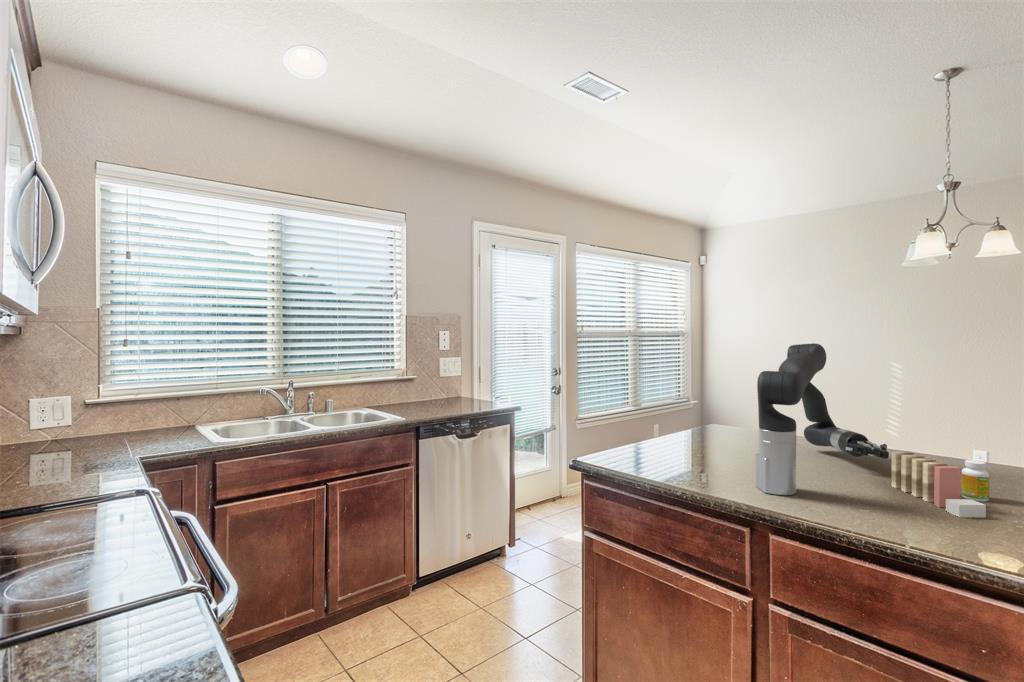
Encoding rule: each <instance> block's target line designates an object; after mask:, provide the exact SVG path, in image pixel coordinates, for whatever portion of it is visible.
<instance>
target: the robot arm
mask: <svg viewBox="0 0 1024 682" xmlns="http://www.w3.org/2000/svg"><path fill="white" fill-rule="evenodd" d="M786 353H787V354H786V357H787V358H785V360H783V362H782V363H780V365H779V367H778V371H777V370H776V371H775V370H764V371H761V372H760V373H759V375H758V377H757V386H756V387H757V388H756V389H757V403H758V406H757V407H758V408H757V409H758V452H757V453H756V454H755V488H757V489H759V490H760V491H762V492H763V493H764V494H771V495H777V496H791V495H795V494H797V421H796V420H795V419H794V418H792V417H790V416H787V415H785V414H784V413H782V412H780V411H778V410H777V409H775V407H774V405H776V406H777V405H778V406H779V405H780V406H795V405H798V404H799V402H800V401H802V405H803V410H804V414H805V417H806V420H808V421H809V422H811V423H813V424H810V425H808V426H806V427H805V428H804V430H803V436H804V439H805V440H806V441H807V442H808V443H809V444H811V445H814V446H818V447H831V448H833V449H836V450H838V451H839V452H841V453H844V454H847V455H850V456H852V457H855V458H856V457H857V458H859V457H862V456H865V457H867V456H871V457H876V458H879V459H882V460H883V459H884V460H885V459H889V458H890V455H889V454H890V453H889V451H888V444H886V443H882V444H879V445H877V444H876V443H874V442H872V441H871V440H869V439H868V438H867V436H865V435H864V434H862V433H859V432H855V431H852V430H850V429H845V428H840V427H838V426H836V424H835V423H834V421H833V420H832V417H830V414H829V411H828V407H827V406H828V405H827V401H826V398H825V395H823V393H822V392H821V390H819V388H818V387H816V386H815V385H814V384H813V383H812V382H811V381H812V379H813V378H814V377H815V375H816V374H818V373H819V372H820V371H822V370H823V369H824V367H825V365H826V363H827V352H826V349H825V348H824V347H823V346H822V344H820V343H814V342H813V343H801V344H791V345H790V346H789V347H788V348H787V352H786Z"/></svg>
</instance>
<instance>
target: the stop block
mask: <svg viewBox="0 0 1024 682" xmlns="http://www.w3.org/2000/svg"><path fill="white" fill-rule="evenodd" d="M946 511H947V513H948V512H949V513H948V514H951V515H953V516H955V515H956V516H955V517H957V516H958V518H970V519H971V518H973V517H974V518H979V519H980V518H987V512H986V511H987V504H984V503H982V502H980V501H974V500H972V499H966V498H963V499H961V498H960V499H946V508H945V512H946Z"/></svg>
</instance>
